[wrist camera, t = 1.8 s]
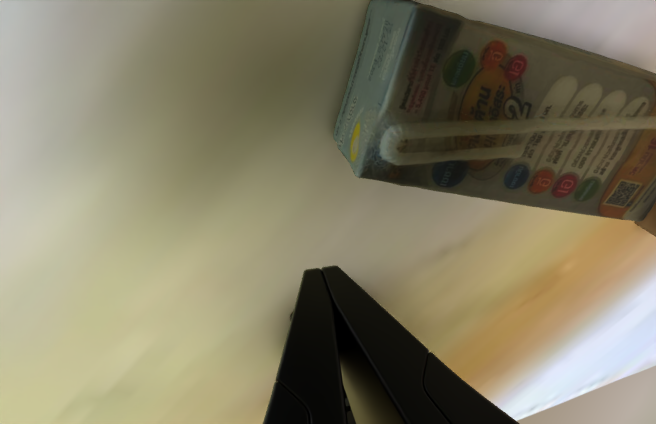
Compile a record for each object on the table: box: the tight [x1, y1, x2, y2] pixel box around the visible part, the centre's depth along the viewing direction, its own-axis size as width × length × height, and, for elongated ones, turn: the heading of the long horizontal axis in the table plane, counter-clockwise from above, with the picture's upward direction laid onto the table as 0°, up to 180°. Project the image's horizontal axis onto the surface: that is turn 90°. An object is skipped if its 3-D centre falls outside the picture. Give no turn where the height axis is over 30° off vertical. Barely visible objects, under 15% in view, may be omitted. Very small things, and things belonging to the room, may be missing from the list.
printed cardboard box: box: [333, 0, 656, 222], centre depth 20 cm, size 8×19×6 cm, turn 75°
